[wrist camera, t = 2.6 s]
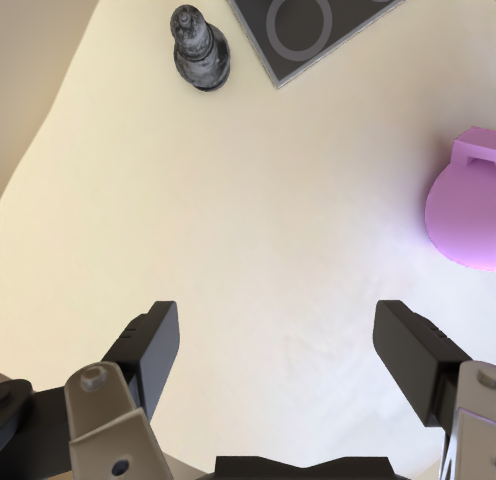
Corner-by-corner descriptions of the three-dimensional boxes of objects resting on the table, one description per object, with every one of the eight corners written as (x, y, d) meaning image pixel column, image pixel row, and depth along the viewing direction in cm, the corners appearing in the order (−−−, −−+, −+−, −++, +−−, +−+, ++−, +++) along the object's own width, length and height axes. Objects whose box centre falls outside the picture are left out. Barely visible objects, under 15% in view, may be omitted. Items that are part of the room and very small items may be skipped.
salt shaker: (171, 63, 33) (126, 10, 21) (208, 24, 31) (183, -55, 20) (205, 105, 34) (181, 76, 22) (242, 69, 33) (237, 19, 21)
